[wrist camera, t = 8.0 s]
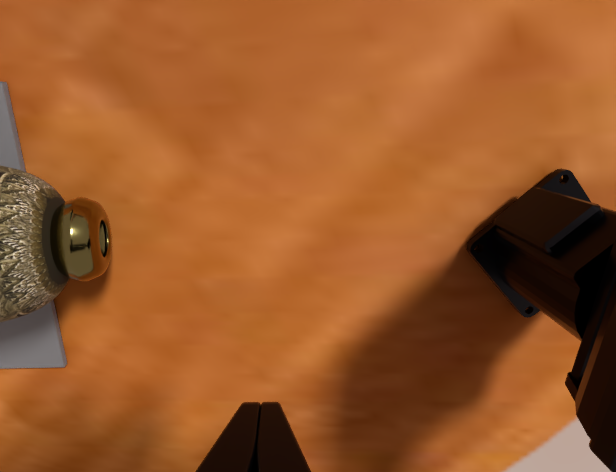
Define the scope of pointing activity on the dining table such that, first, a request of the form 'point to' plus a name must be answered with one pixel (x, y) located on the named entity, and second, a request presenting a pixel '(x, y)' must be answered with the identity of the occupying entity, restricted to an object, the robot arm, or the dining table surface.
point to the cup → (46, 242)
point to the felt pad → (43, 322)
